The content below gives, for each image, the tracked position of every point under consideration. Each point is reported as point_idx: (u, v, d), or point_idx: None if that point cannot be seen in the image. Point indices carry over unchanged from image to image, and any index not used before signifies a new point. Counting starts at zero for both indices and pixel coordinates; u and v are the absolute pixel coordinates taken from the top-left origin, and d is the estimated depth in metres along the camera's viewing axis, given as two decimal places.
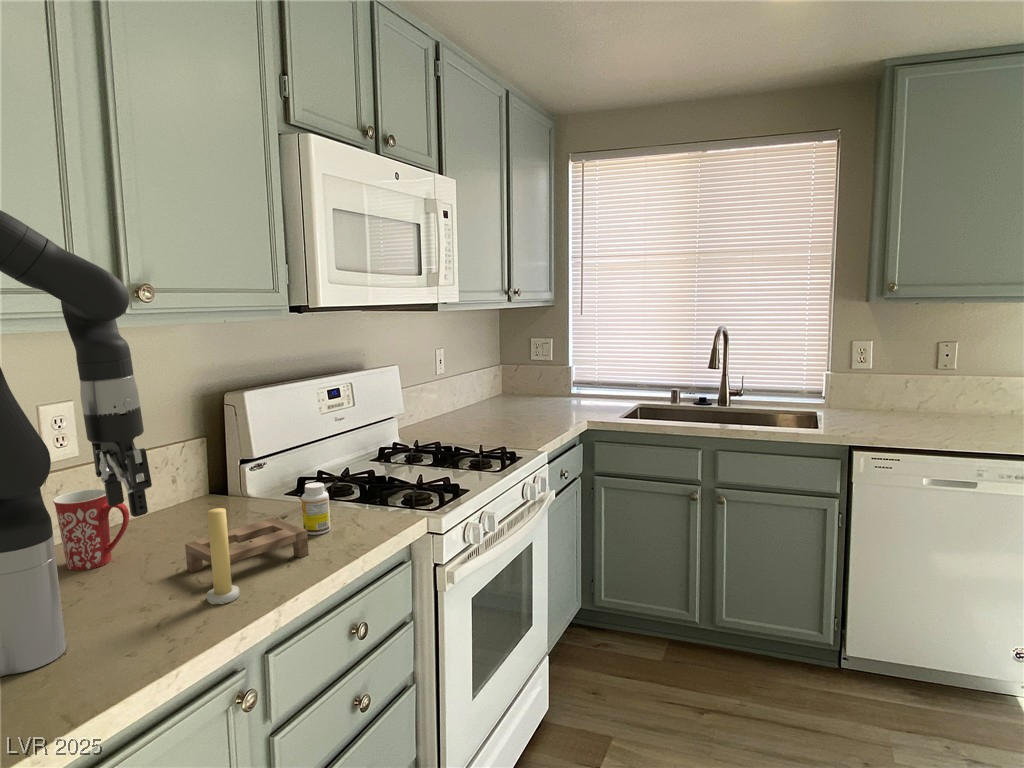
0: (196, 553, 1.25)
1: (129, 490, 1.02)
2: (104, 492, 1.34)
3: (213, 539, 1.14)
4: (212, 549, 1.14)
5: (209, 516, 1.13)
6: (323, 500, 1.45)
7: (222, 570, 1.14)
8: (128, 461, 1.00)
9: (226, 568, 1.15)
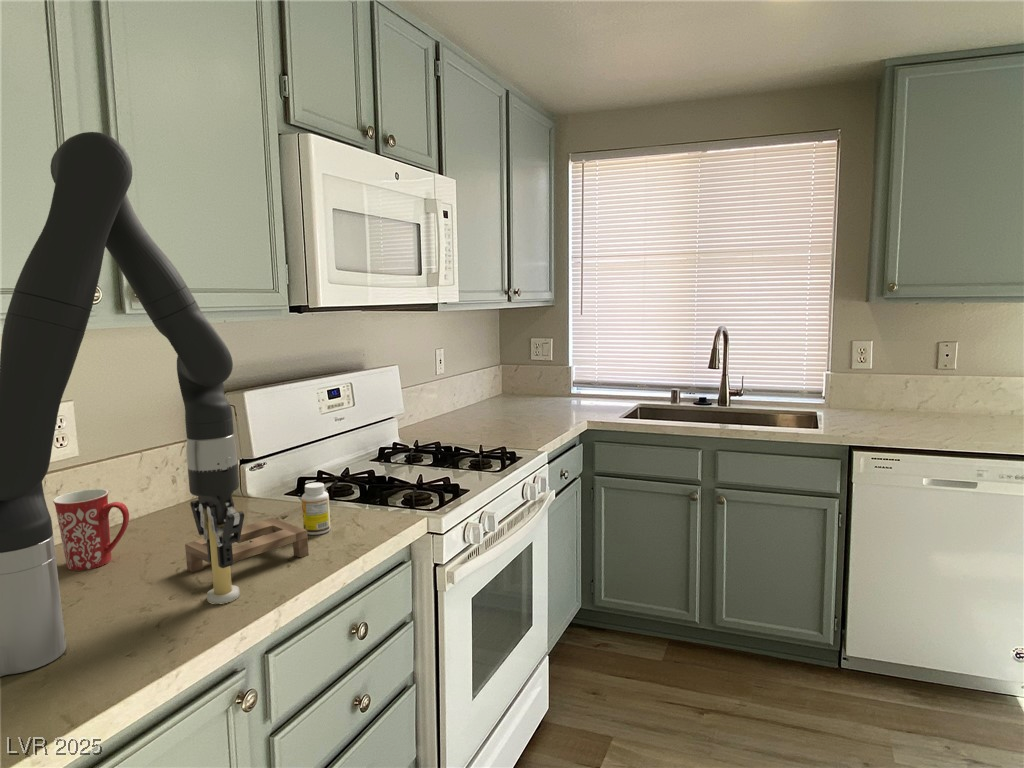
0: (196, 553, 1.25)
1: (219, 544, 1.12)
2: (104, 492, 1.34)
3: (213, 539, 1.14)
4: (212, 549, 1.14)
5: None
6: (323, 500, 1.45)
7: (222, 570, 1.14)
8: (228, 523, 1.10)
9: (226, 568, 1.15)
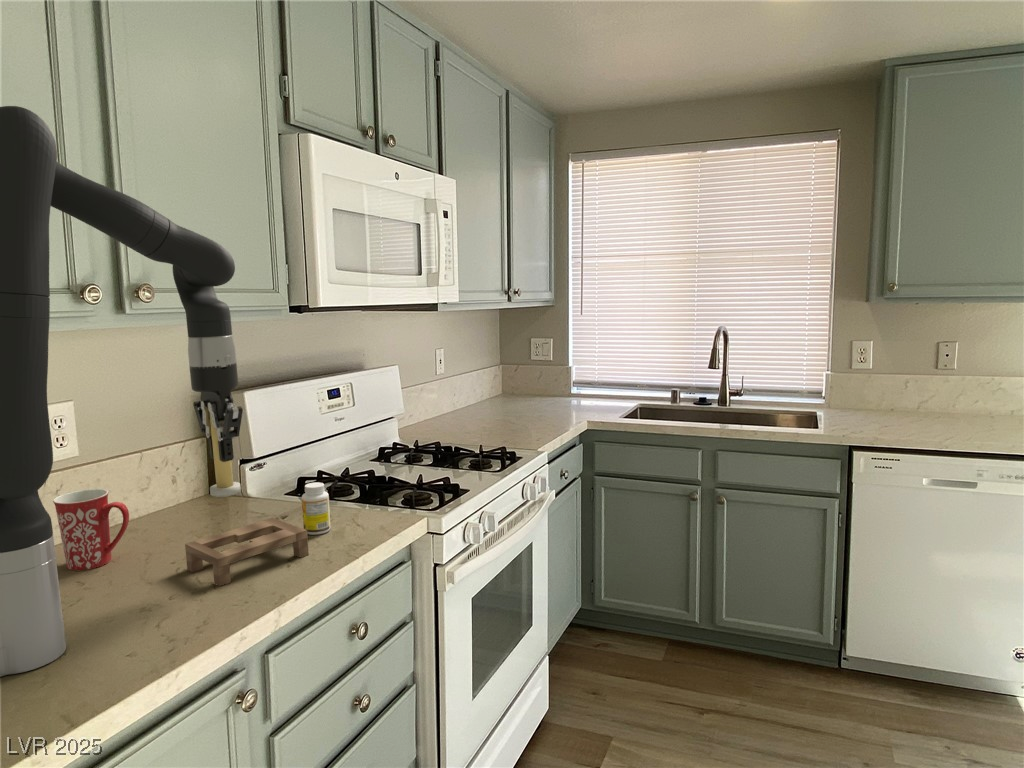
0: (196, 553, 1.25)
1: (220, 438, 1.19)
2: (104, 492, 1.34)
3: (215, 434, 1.20)
4: (214, 444, 1.21)
5: None
6: (323, 500, 1.45)
7: (224, 464, 1.21)
8: (227, 416, 1.16)
9: (227, 463, 1.22)
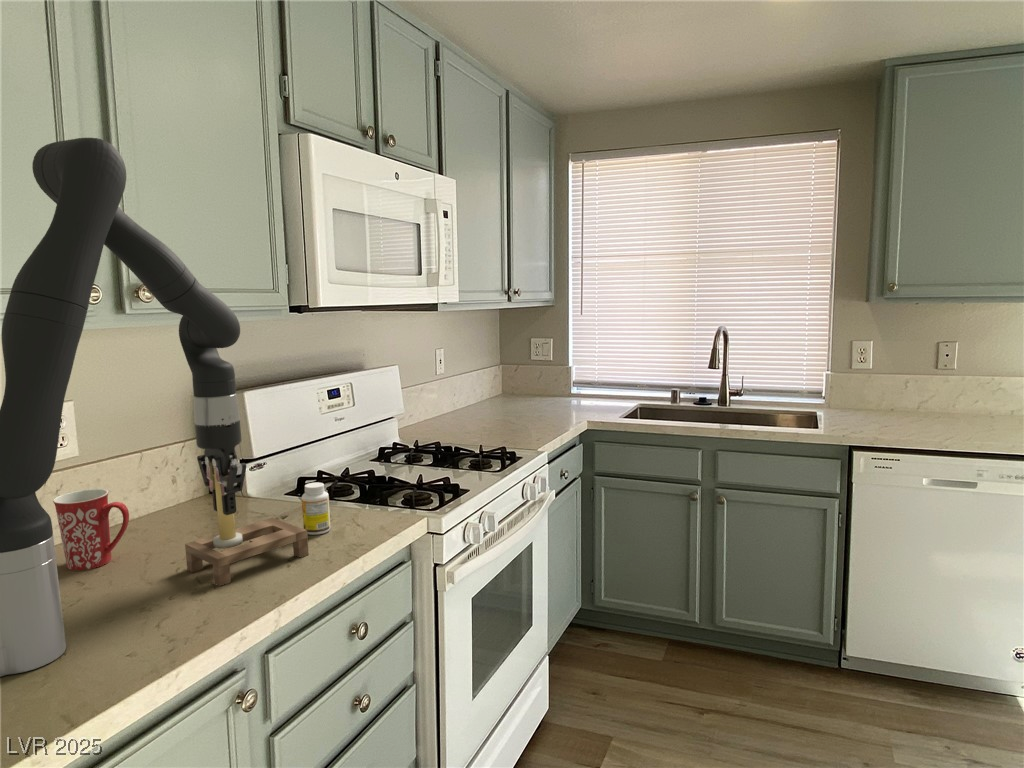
0: (196, 553, 1.25)
1: (224, 492, 1.24)
2: (104, 492, 1.34)
3: (218, 489, 1.25)
4: (218, 498, 1.26)
5: None
6: (323, 500, 1.45)
7: (227, 517, 1.26)
8: (231, 473, 1.21)
9: (230, 515, 1.27)
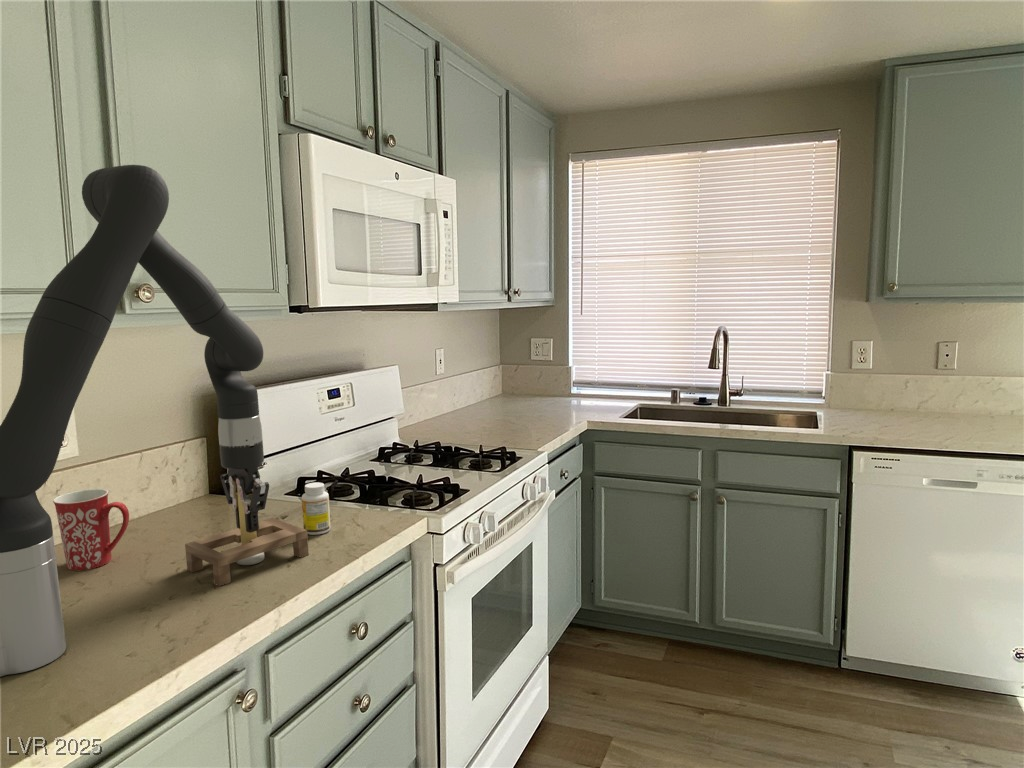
0: (196, 553, 1.25)
1: (247, 511, 1.28)
2: (104, 492, 1.34)
3: (242, 507, 1.29)
4: (241, 516, 1.29)
5: None
6: (323, 500, 1.45)
7: (250, 534, 1.30)
8: (255, 492, 1.25)
9: (253, 533, 1.31)
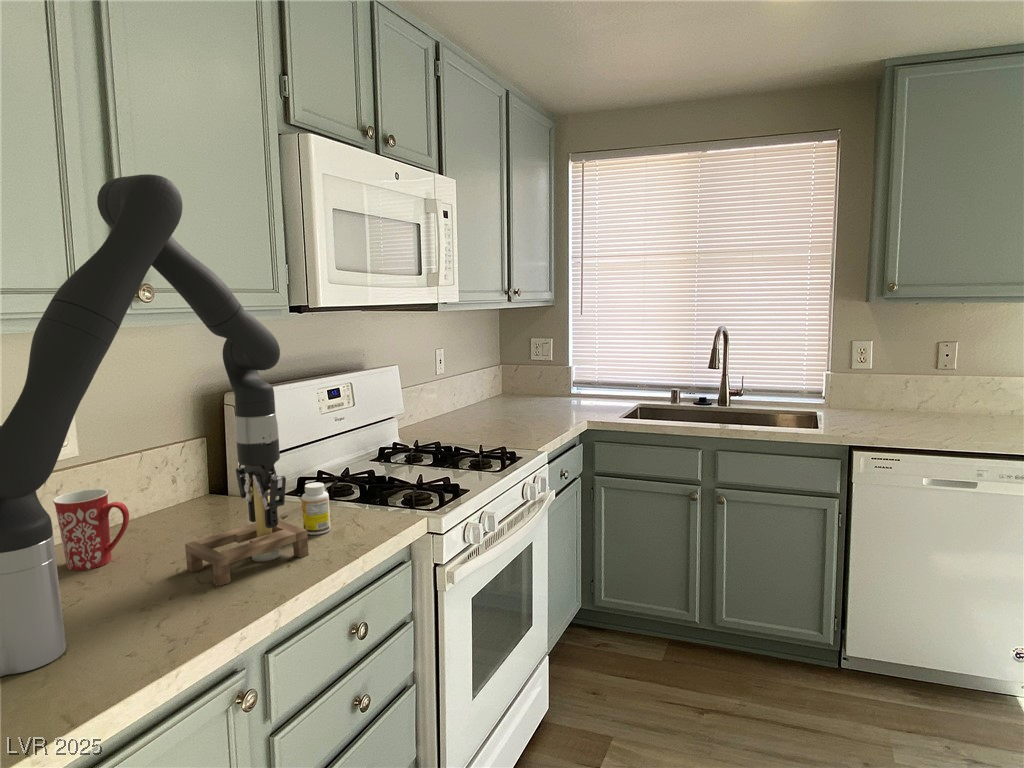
0: (196, 553, 1.25)
1: (267, 507, 1.30)
2: (104, 492, 1.34)
3: (258, 504, 1.32)
4: (257, 513, 1.32)
5: (254, 484, 1.31)
6: (323, 500, 1.45)
7: (265, 531, 1.32)
8: (273, 485, 1.27)
9: (268, 530, 1.33)
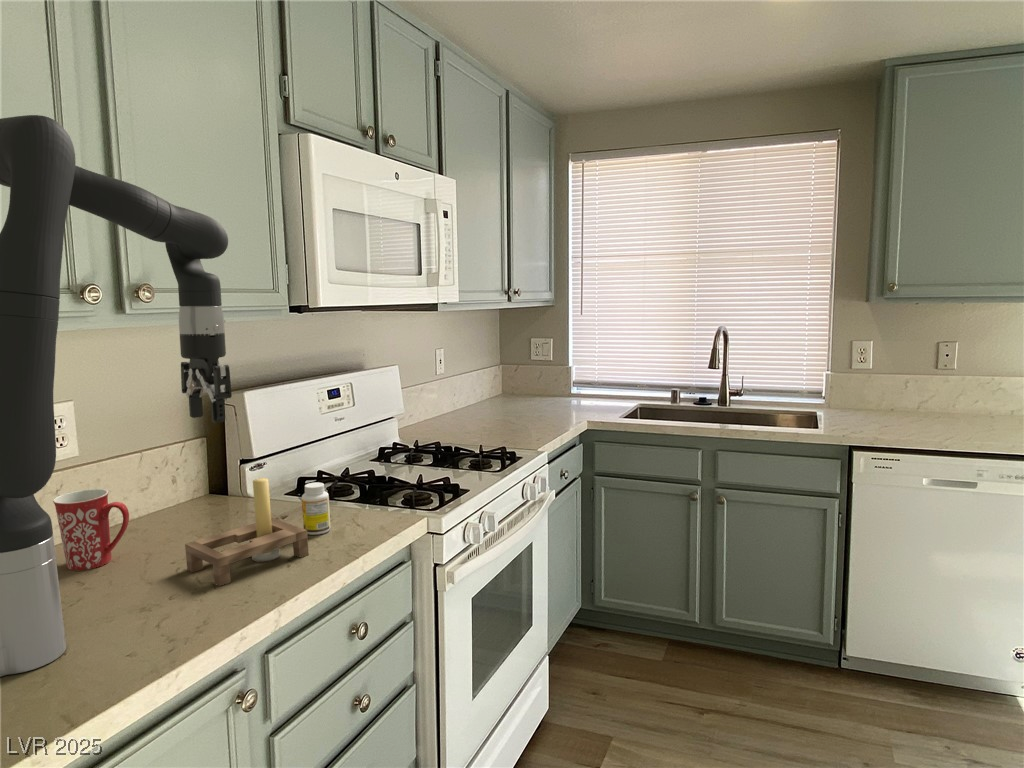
0: (196, 553, 1.25)
1: (213, 399, 1.23)
2: (104, 492, 1.34)
3: (258, 504, 1.32)
4: (257, 513, 1.32)
5: (254, 484, 1.31)
6: (323, 500, 1.45)
7: (265, 531, 1.32)
8: (215, 373, 1.21)
9: (268, 530, 1.33)
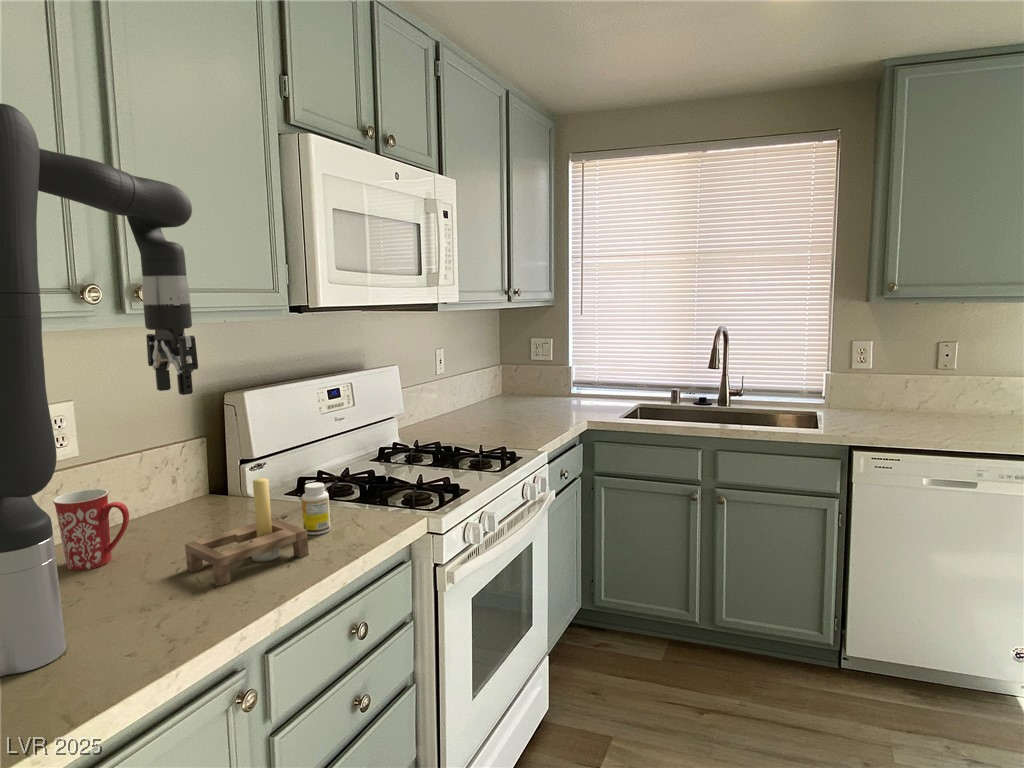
0: (196, 553, 1.25)
1: (179, 370, 1.21)
2: (104, 492, 1.34)
3: (258, 504, 1.32)
4: (257, 513, 1.32)
5: (254, 484, 1.31)
6: (323, 500, 1.45)
7: (265, 531, 1.32)
8: (180, 343, 1.19)
9: (268, 530, 1.33)
